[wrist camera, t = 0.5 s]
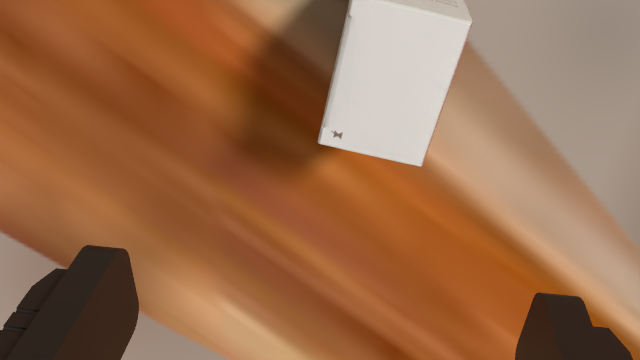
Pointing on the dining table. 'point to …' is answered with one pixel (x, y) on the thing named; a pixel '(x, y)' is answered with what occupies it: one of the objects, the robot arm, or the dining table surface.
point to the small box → (393, 76)
